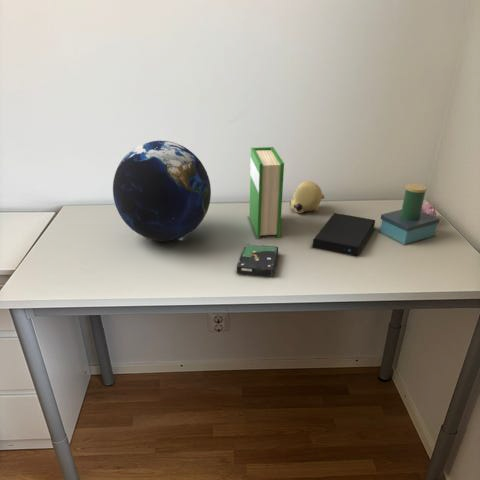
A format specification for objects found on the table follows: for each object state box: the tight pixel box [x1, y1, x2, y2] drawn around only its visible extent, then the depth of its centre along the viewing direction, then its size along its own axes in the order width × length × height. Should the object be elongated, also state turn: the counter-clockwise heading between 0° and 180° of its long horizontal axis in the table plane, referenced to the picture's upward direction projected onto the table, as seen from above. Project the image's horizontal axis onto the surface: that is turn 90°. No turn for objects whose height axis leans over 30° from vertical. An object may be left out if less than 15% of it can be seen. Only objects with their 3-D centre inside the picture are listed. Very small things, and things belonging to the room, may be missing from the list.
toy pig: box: [289, 180, 326, 214], centre depth 183 cm, size 10×12×11 cm
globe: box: [112, 140, 212, 242], centre depth 158 cm, size 30×30×30 cm
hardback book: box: [249, 146, 285, 239], centre depth 167 cm, size 18×7×24 cm, turn 7°
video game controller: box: [421, 202, 437, 217], centre depth 177 cm, size 10×5×7 cm, turn 179°
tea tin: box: [401, 182, 427, 220], centre depth 163 cm, size 6×6×10 cm
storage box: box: [379, 208, 440, 245], centre depth 168 cm, size 14×12×6 cm
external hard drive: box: [312, 212, 376, 257], centre depth 166 cm, size 14×23×3 cm, turn 155°
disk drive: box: [236, 243, 279, 277], centre depth 150 cm, size 10×3×15 cm
